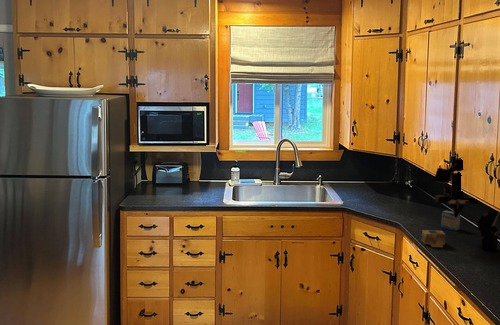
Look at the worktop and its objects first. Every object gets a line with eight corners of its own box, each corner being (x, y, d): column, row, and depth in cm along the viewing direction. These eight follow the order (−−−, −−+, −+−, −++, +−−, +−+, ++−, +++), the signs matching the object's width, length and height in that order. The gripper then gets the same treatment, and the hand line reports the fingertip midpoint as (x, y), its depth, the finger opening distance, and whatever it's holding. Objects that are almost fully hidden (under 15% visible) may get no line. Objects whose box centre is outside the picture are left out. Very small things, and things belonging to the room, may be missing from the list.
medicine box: (440, 227, 291) (441, 211, 289) (444, 226, 294) (446, 210, 292) (455, 231, 285) (456, 214, 284) (459, 229, 288) (460, 212, 287)
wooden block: (441, 230, 265) (422, 229, 266) (445, 233, 260) (425, 233, 260) (440, 240, 266) (421, 240, 267) (444, 244, 260) (425, 244, 261)
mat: (437, 240, 268) (437, 239, 268) (443, 247, 259) (443, 246, 259) (426, 240, 269) (426, 239, 269) (431, 246, 259) (432, 245, 259)
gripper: (472, 181, 270) (470, 213, 273) (433, 180, 271) (430, 212, 274) (480, 186, 259) (478, 219, 262) (439, 185, 260) (437, 218, 263)
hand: (455, 217), depth 265 cm, fingers closed
